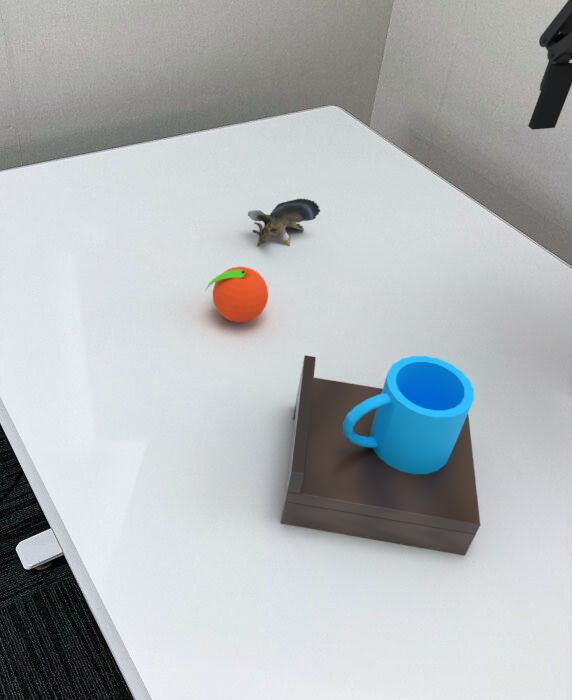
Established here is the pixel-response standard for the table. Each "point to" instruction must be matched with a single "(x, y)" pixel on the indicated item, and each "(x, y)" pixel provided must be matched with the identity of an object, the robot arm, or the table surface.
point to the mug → (415, 414)
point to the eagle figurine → (284, 218)
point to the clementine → (239, 294)
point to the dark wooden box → (372, 477)
